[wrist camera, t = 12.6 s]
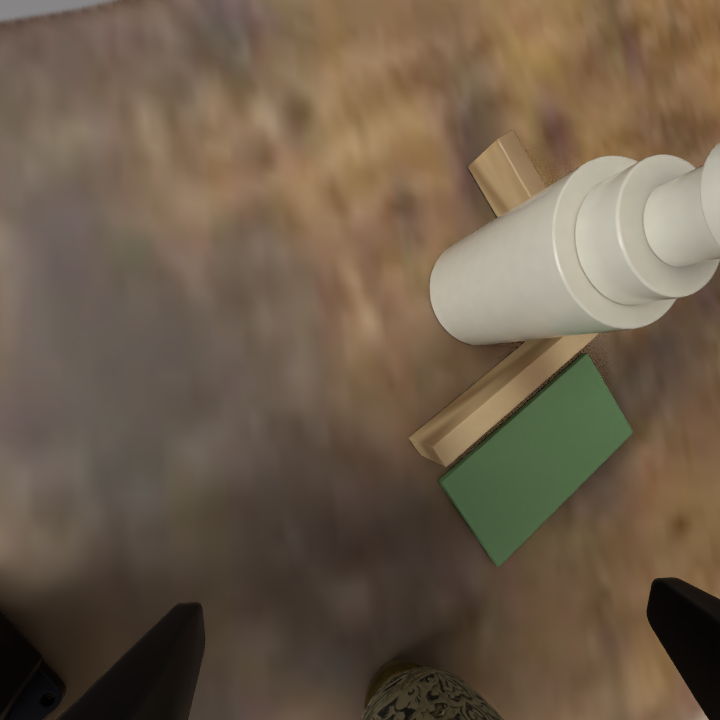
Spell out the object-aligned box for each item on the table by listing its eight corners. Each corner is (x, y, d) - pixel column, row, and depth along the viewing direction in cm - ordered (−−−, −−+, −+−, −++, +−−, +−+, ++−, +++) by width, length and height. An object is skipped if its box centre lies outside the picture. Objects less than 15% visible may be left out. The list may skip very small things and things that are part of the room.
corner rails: (420, 455, 21) (446, 468, 18) (297, 274, 19) (305, 258, 17) (577, 322, 24) (619, 316, 21) (481, 157, 23) (514, 128, 20)
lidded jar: (467, 366, 22) (761, 360, 9) (408, 274, 21) (645, 134, 9) (540, 307, 23) (878, 234, 11) (487, 219, 23) (789, 30, 10)
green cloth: (494, 564, 22) (498, 567, 22) (437, 480, 21) (441, 482, 21) (627, 431, 25) (633, 432, 25) (582, 353, 24) (587, 352, 24)
